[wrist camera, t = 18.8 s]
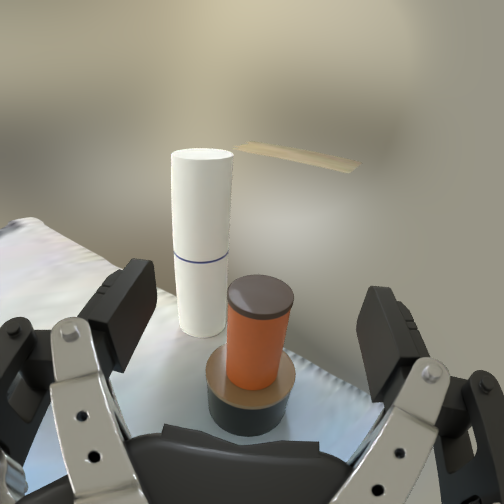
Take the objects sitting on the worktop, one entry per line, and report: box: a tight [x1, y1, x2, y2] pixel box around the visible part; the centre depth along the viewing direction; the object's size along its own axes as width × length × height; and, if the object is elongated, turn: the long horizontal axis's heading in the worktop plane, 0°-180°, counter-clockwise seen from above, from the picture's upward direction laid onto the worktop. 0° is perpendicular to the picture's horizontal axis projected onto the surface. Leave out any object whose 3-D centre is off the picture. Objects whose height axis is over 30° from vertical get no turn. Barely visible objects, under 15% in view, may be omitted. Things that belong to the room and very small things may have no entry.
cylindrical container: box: [171, 148, 233, 338], centre depth 39 cm, size 7×7×25 cm
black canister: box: [206, 343, 296, 437], centre depth 31 cm, size 9×9×7 cm
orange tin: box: [226, 275, 294, 390], centre depth 27 cm, size 5×5×10 cm
